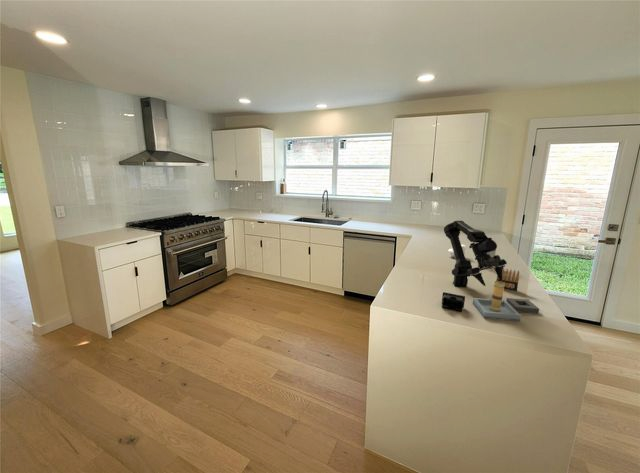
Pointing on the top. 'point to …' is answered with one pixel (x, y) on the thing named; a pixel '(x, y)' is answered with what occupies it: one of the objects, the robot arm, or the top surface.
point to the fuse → (497, 296)
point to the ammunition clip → (509, 280)
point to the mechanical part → (453, 251)
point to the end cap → (453, 302)
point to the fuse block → (523, 305)
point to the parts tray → (505, 312)
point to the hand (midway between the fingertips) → (493, 283)
